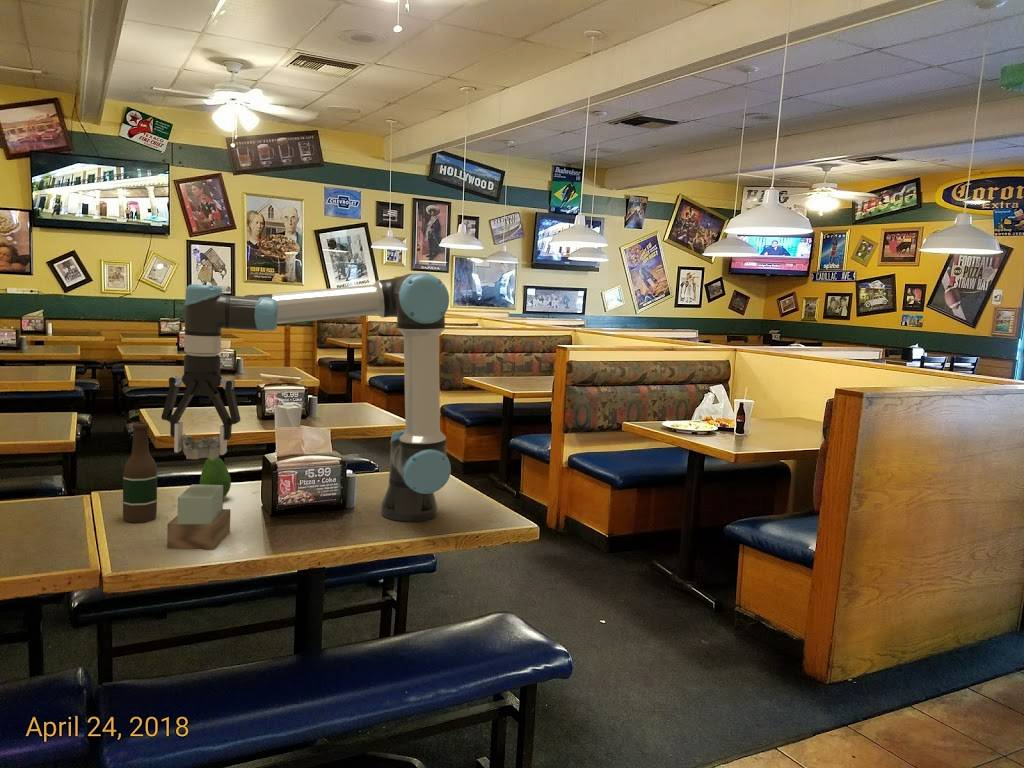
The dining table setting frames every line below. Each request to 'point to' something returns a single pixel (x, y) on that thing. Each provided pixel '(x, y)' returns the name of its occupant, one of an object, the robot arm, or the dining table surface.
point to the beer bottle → (140, 479)
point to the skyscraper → (287, 414)
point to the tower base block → (198, 533)
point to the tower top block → (200, 504)
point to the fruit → (216, 474)
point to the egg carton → (200, 447)
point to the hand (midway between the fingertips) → (200, 452)
